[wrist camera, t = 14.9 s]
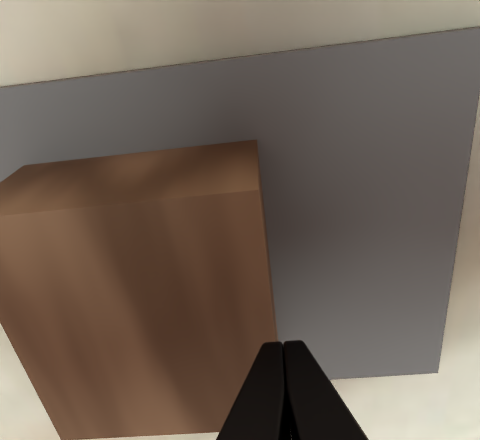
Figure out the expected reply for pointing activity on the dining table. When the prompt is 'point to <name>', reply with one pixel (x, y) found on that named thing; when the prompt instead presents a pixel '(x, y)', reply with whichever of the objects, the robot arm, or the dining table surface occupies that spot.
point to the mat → (307, 174)
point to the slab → (137, 286)
